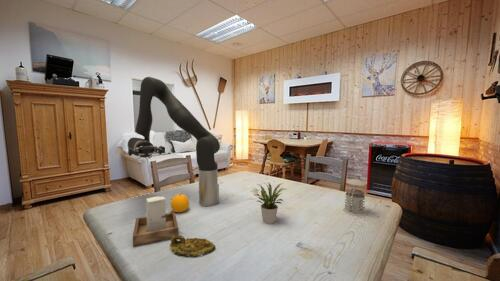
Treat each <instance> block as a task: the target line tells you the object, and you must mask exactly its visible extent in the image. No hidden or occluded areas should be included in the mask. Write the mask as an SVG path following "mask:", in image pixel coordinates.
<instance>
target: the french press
mask: <svg viewBox="0 0 500 281" xmlns="http://www.w3.org/2000/svg"><path fill="white" fill-rule="evenodd" d="M354 161H355V162H360V159H359V158H355V159H354ZM357 174H358V167H356V172H355V178H350V179H348V180H346V181H345V183H346V184H347V185H349V186H352V187H355V188H352V187H349V188H348V189H347V190H346V193H345V199H344V200H345V202H344V203H345V205H344V208H343V209H342V212H343V211H344V212H345V214H346V215H348V214H349V215H348V216H351V215H352V217H355V216H357V217H356V218H362V216H364V217H365V215H366V216H367V213H366V212H365V209H364V208H365V200H366V197H365V192H364V191H362V189H361V190H360V189H357V187H364V186H366V185H367V184H366V182H364V181H362V180H361V179H358V177H357ZM344 212H343V213H344Z"/></svg>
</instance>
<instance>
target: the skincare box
mask: <svg viewBox="0 0 500 281" xmlns="http://www.w3.org/2000/svg"><path fill="white" fill-rule="evenodd" d="M145 202H146V205H145V206H146V216H147V232H151V231H156V230H162V229H166V213H167V212H166V211H167V210H166V208H167V207H166V202H167V201H166V198H165V196H164V195H160V196H152V197H148V198H147V197H146V198H145Z"/></svg>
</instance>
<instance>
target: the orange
mask: <svg viewBox="0 0 500 281" xmlns="http://www.w3.org/2000/svg"><path fill="white" fill-rule="evenodd" d="M189 205H190V200H189V198H188V196H186V195H185V194H181V193H180V194H176V195H174V196H173V198H172V199H171V201H170V208H171V209H172V211H173V212H176V213H181V212H185V211H187V210H188V208H189Z"/></svg>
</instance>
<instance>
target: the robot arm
mask: <svg viewBox="0 0 500 281" xmlns="http://www.w3.org/2000/svg"><path fill="white" fill-rule="evenodd" d="M153 98H157V99H158V100H159V101H160V102H161V103H162V105H164V106H165V108H166V111H167V114H168V117H170V119H171V120H172V121H173V123H174V124H175V125H176V126H178V127H179V129H182V130H183V131H184V132H187V133H188V134H189V135H191V136H193V138H195V140H197V142H196V146H195V151H196V152H195V154H196V155H195V156H196V165H197V166H198V167H197V168H198V204H199V205H200V206H204V207H212V206H214V205H217V204H220V185H219V182H218V179H219V178H218V169H219V167H218V163H217V162H216V160H215V154H217V153H218V152H219V151H220V149H221V144H220V141H219V139H217V137H215V136H214V135H213V134H212V133H211V132H210V131H208V129H206V127H204V126H203V124H202V123H201V122H200V121H199V120H198V119H197V118H196V117H195V116H194V115H193V114H192V112H191V111H190V110H189V109H188V108H187V107H186V106H185V105H184V104H183V103H182V102H181V101H180V100H179V99H178V98H177V97H176V96H175V95H174V94H173V92H172V91H171V90H170V88H169V87H168V86H167V85H166V83H165V82H164V81H163V80H161V79H158V78H155V77H152V76H146V77H144V78H143V79H142V80H141V84H140V92H139V108H138V109H139V110H138V116H137V121H136V124H135V130H134V131H135V133H136V135H137V134H138V135H140V136H142V137H143V138H140V137H131V138H129V139H128V142H127V153H128V155H127V156H129V157H130V156H131V157H132V156H135V157H139V158H149V157H150V156H152V155H157V154H158V155H162V154H166V147H165V146H163V145H160V146H156V145H155V146H154V144H153V143H152V142H151V141H150V136H151V135H150V134H151V130H152V125H153V113H152V106H151V105H152V100H153Z"/></svg>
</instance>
